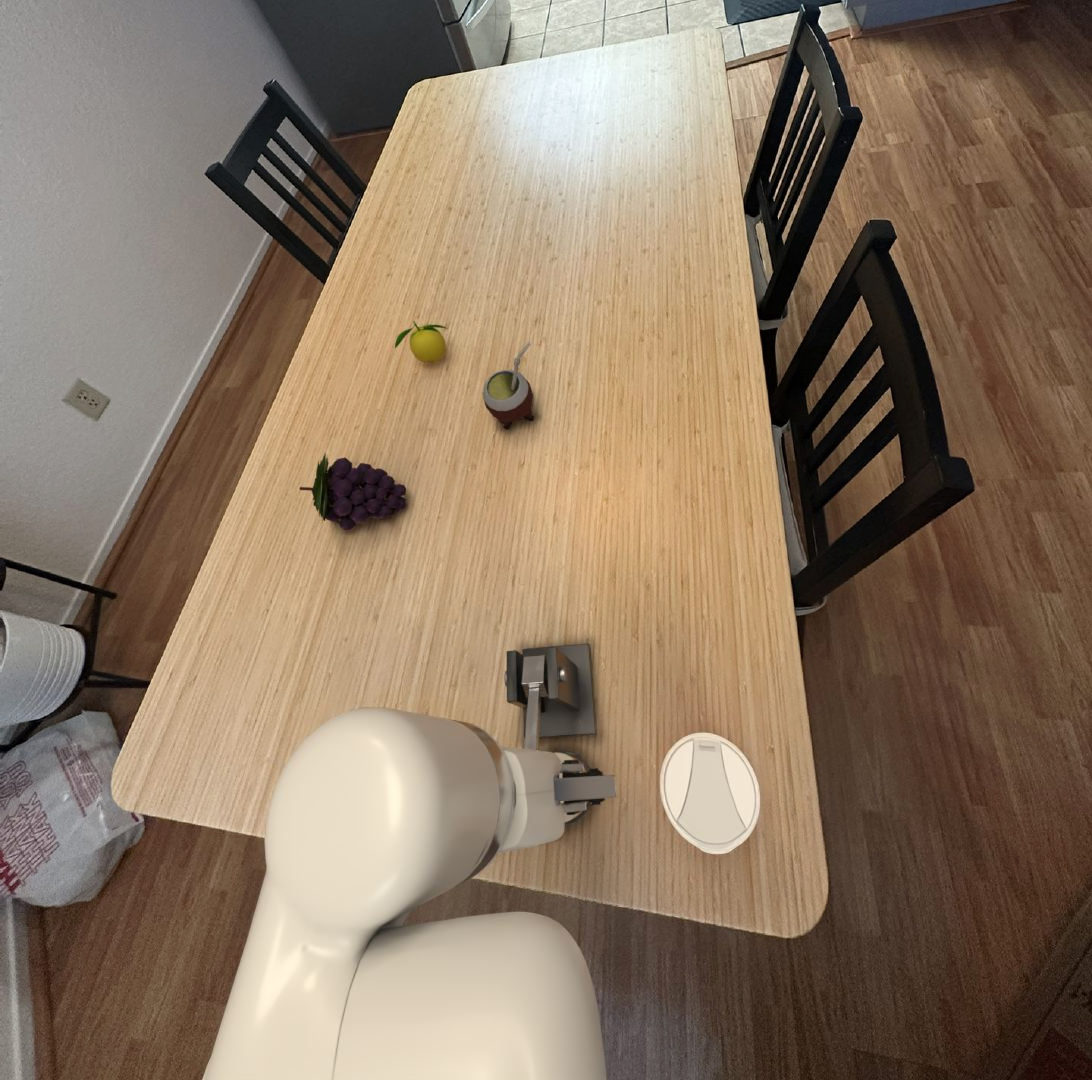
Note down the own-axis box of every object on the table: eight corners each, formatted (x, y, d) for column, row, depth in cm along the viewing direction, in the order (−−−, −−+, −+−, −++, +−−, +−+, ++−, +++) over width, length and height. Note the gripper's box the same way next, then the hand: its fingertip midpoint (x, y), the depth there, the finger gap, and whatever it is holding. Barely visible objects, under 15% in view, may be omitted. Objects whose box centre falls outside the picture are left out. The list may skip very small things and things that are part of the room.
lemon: (411, 371, 101) (386, 336, 93) (422, 342, 104) (399, 305, 96) (448, 375, 99) (426, 339, 91) (459, 345, 102) (438, 308, 94)
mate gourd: (485, 422, 92) (453, 370, 80) (511, 381, 96) (485, 325, 84) (526, 441, 89) (500, 389, 77) (552, 398, 93) (531, 341, 80)
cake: (596, 822, 63) (590, 825, 60) (535, 825, 64) (526, 828, 61) (590, 748, 67) (585, 747, 64) (533, 752, 68) (525, 751, 64)
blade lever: (560, 805, 51) (555, 791, 50) (502, 808, 52) (496, 794, 51) (563, 668, 62) (558, 653, 60) (514, 671, 62) (509, 657, 61)
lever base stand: (597, 734, 68) (576, 726, 56) (526, 738, 69) (490, 732, 57) (590, 645, 73) (569, 620, 61) (524, 650, 74) (491, 627, 62)
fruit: (408, 534, 88) (302, 534, 87) (414, 462, 93) (313, 461, 92) (397, 523, 79) (278, 522, 78) (404, 443, 83) (292, 441, 82)
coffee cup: (664, 735, 66) (658, 727, 54) (744, 742, 65) (756, 736, 52) (666, 833, 62) (660, 849, 49) (752, 844, 60) (767, 862, 48)
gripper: (284, 893, 33) (405, 854, 47) (605, 884, 30) (632, 845, 44) (308, 729, 37) (413, 738, 51) (592, 709, 35) (620, 725, 49)
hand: (515, 788), depth 48 cm, fingers open, 9 cm apart
